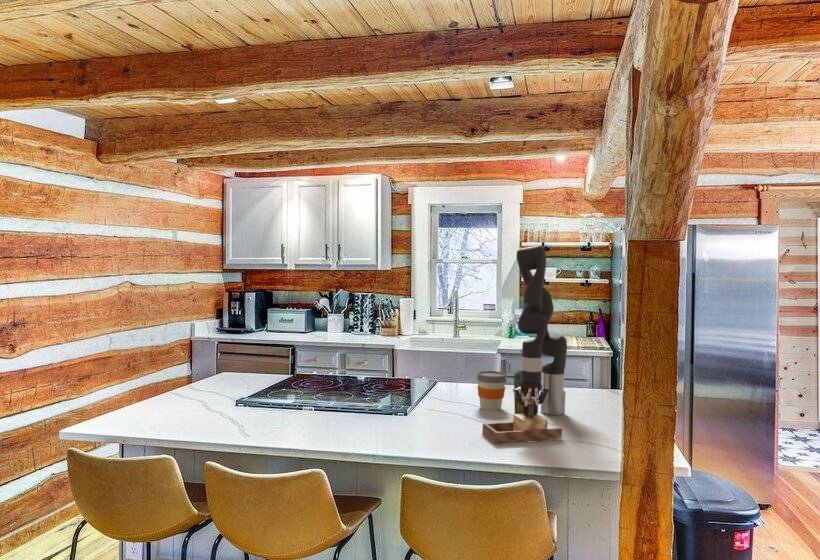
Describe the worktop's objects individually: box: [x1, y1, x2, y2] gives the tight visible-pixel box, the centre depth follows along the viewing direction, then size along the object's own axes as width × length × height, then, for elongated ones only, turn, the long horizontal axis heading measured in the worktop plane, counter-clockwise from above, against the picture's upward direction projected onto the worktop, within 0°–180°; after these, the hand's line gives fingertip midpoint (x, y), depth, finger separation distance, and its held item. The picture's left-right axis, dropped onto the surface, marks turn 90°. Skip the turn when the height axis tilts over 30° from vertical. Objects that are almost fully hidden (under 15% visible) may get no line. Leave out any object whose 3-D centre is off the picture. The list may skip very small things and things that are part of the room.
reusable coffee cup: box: [476, 370, 507, 412], centre depth 260 cm, size 13×13×15 cm
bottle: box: [513, 358, 540, 414], centre depth 238 cm, size 11×11×28 cm
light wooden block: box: [512, 402, 548, 431], centre depth 220 cm, size 9×9×11 cm
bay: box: [482, 421, 563, 445], centre depth 220 cm, size 26×12×4 cm, turn 105°
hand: (529, 415), depth 220 cm, fingers closed on light wooden block, 3 cm apart
